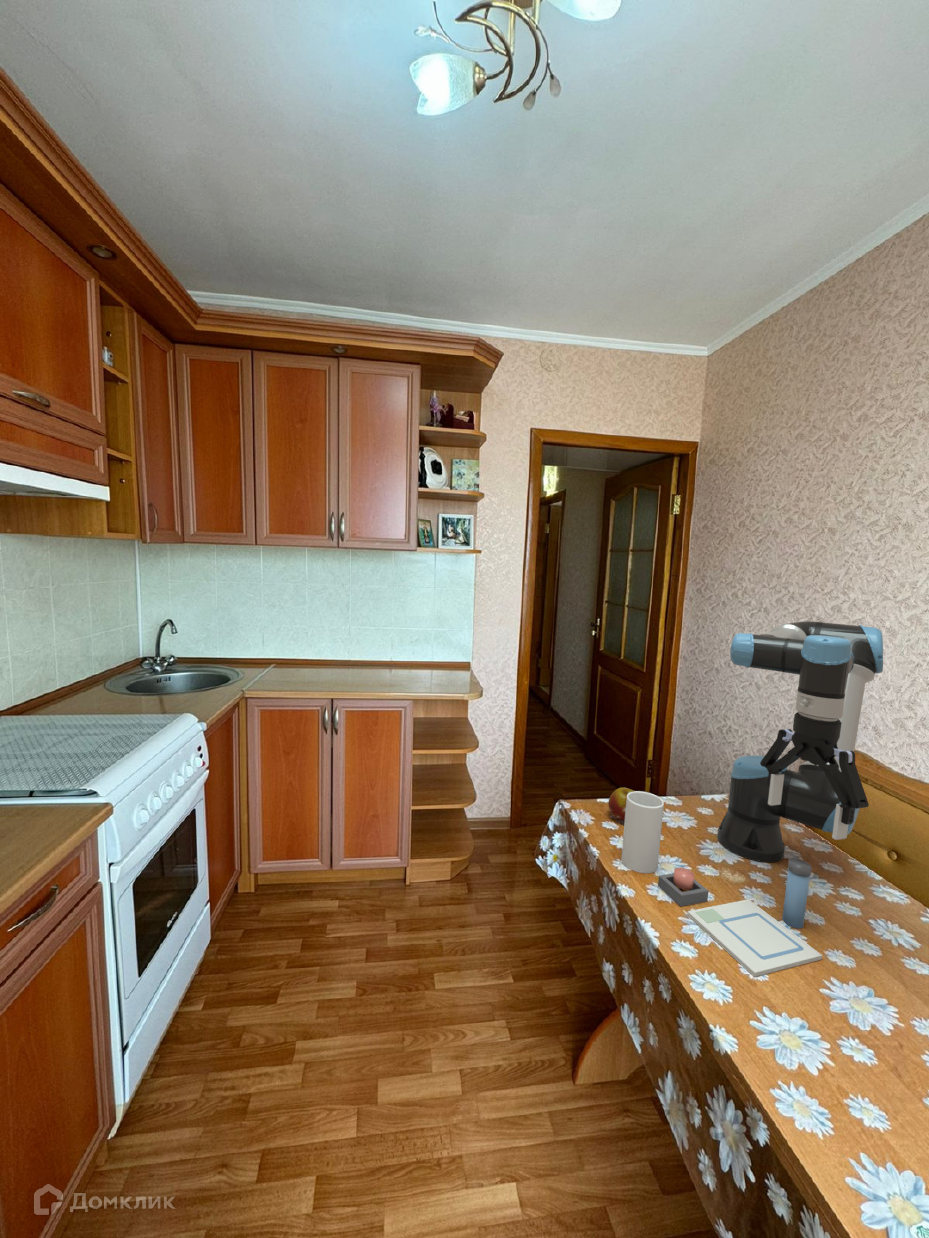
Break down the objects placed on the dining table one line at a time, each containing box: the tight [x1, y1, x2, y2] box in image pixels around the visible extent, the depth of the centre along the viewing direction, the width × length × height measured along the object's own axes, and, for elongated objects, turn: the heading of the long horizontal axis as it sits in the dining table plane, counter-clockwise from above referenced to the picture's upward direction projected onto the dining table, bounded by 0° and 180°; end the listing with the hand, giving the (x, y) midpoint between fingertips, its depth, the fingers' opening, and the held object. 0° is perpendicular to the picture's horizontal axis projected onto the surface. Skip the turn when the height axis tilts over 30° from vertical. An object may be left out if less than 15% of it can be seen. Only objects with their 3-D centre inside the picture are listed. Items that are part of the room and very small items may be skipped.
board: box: [686, 899, 823, 978], centre depth 97 cm, size 16×16×1 cm
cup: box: [620, 790, 665, 874], centre depth 119 cm, size 8×8×16 cm
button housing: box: [657, 872, 709, 907], centre depth 109 cm, size 7×7×2 cm
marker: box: [781, 857, 812, 929], centre depth 101 cm, size 4×4×12 cm
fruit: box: [608, 787, 635, 822], centre depth 141 cm, size 10×9×8 cm
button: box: [673, 867, 695, 891], centre depth 108 cm, size 4×4×2 cm
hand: (804, 820), depth 99 cm, fingers open, 13 cm apart
